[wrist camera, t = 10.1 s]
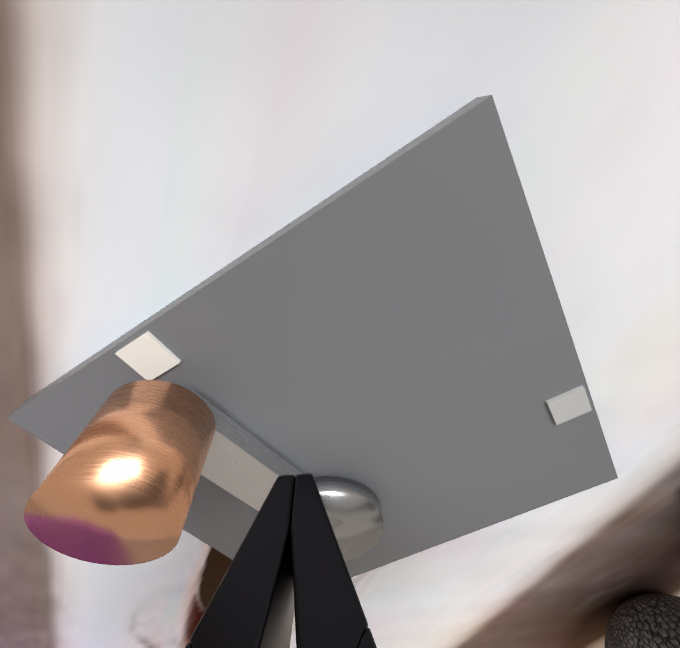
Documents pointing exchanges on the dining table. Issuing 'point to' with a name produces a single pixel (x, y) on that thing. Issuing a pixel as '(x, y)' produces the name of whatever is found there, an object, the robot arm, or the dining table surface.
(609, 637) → the decorative ball
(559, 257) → the dining table surface
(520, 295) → the mount plate
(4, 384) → the dining table surface
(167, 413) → the crank
